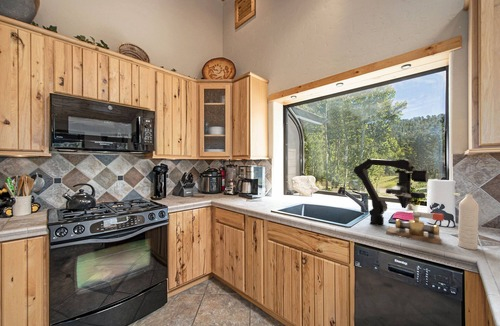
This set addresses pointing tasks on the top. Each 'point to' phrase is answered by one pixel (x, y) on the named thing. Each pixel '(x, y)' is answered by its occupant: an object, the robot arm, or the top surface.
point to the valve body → (417, 227)
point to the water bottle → (468, 222)
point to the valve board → (423, 238)
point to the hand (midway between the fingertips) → (403, 207)
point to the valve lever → (429, 215)
